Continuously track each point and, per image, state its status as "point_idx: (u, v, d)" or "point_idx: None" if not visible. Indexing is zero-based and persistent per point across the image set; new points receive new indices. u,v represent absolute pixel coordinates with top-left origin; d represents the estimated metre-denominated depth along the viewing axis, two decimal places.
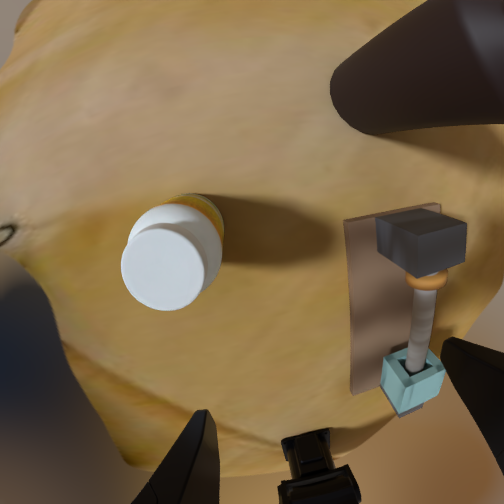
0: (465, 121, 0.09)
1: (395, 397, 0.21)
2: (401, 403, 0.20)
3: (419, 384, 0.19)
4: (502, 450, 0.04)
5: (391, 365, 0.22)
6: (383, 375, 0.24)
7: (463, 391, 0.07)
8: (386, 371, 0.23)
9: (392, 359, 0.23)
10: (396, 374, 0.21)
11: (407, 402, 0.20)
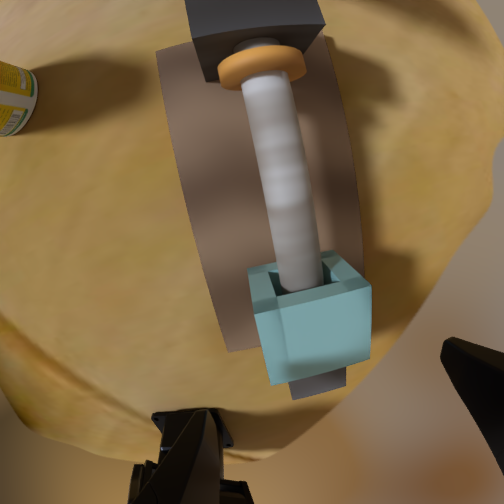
0: None
1: None
2: (265, 359, 0.11)
3: (296, 314, 0.10)
4: (502, 450, 0.04)
5: (251, 279, 0.13)
6: None
7: (463, 391, 0.07)
8: None
9: (259, 271, 0.14)
10: (251, 292, 0.12)
11: (281, 360, 0.11)
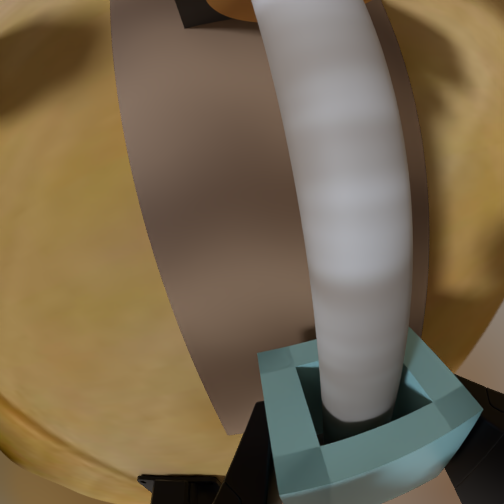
0: None
1: None
2: None
3: (358, 480, 0.04)
4: (461, 481, 0.04)
5: (267, 385, 0.07)
6: None
7: None
8: None
9: (281, 364, 0.07)
10: (269, 426, 0.05)
11: None
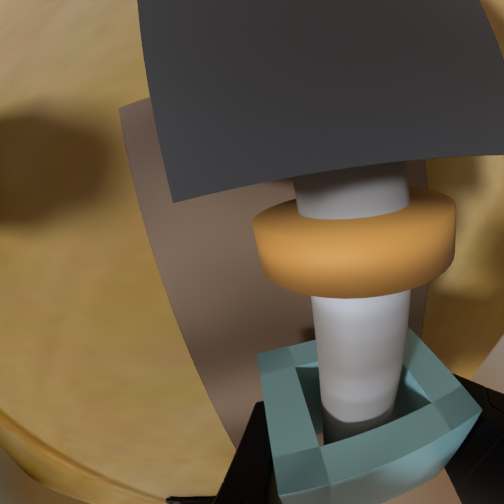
0: None
1: None
2: None
3: (357, 481, 0.04)
4: (461, 481, 0.04)
5: (267, 385, 0.07)
6: None
7: None
8: None
9: (280, 365, 0.07)
10: (269, 426, 0.05)
11: None
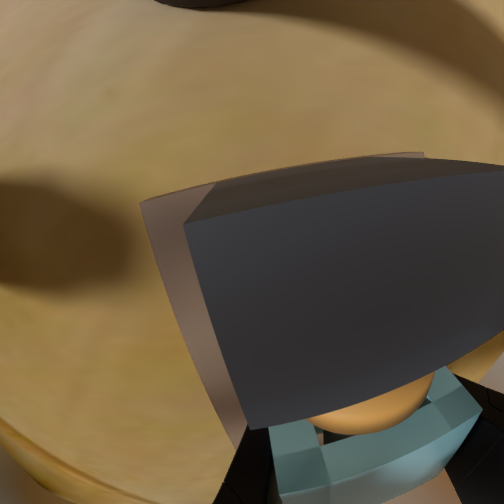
0: None
1: None
2: None
3: (357, 480, 0.04)
4: (461, 481, 0.04)
5: None
6: None
7: None
8: None
9: None
10: None
11: None
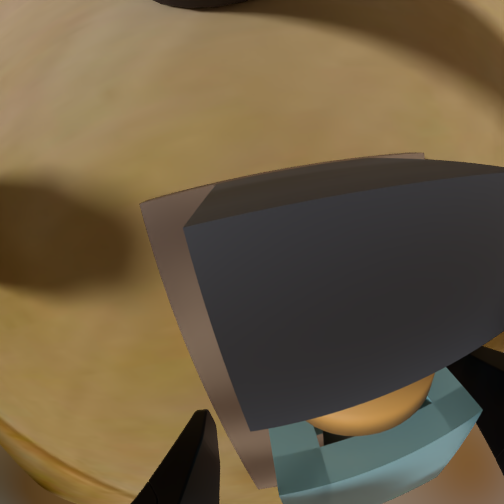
0: None
1: None
2: None
3: (357, 481, 0.04)
4: (502, 450, 0.04)
5: None
6: None
7: None
8: None
9: None
10: None
11: None
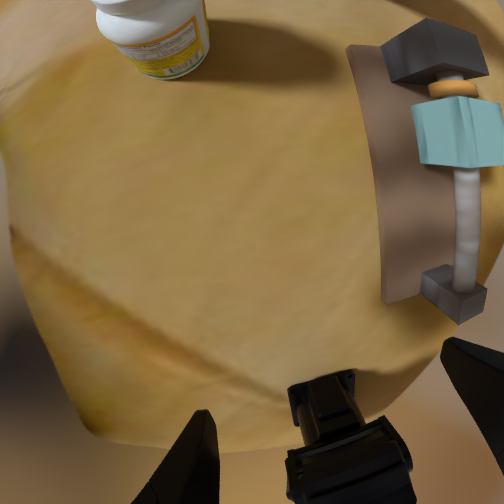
0: None
1: (451, 144, 0.12)
2: (466, 137, 0.10)
3: (475, 105, 0.10)
4: (502, 450, 0.04)
5: (425, 102, 0.13)
6: (420, 138, 0.14)
7: (463, 391, 0.07)
8: (422, 122, 0.14)
9: None
10: None
11: (473, 141, 0.10)
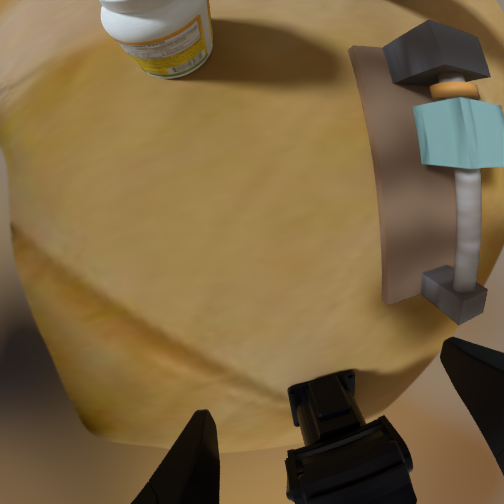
0: None
1: (453, 145, 0.12)
2: (467, 138, 0.10)
3: (476, 106, 0.10)
4: (502, 450, 0.04)
5: (427, 104, 0.13)
6: (422, 139, 0.14)
7: (463, 391, 0.07)
8: (424, 123, 0.14)
9: None
10: (439, 101, 0.11)
11: (474, 142, 0.10)
